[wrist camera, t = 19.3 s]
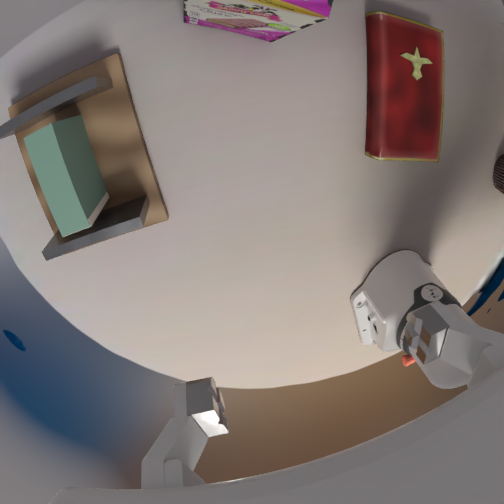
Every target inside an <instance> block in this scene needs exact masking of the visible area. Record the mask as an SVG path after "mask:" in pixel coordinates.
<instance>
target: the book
mask: <svg viewBox="0 0 504 504" xmlns="http://www.w3.org/2000/svg"><path fill="white" fill-rule="evenodd" d="M23 139H24V142H25V145H26V148H27V151H28V154H29V157H30V160H31V162H32V165H33V168H34V171H35V173H36V176H37V179H38V181H39V184H40V186H41V189H42V191H43V194H44V196H45V199H46V201H47V204H48V206H49V208H50V211H51V213H52V215H53V217H54V220H55V222H56V224H57V226H58V228H59V231H60V233H61V235H62V237H65V236H67V235H70V234H72V233H75V232H78V231H80V230H83V229H86V228H89V227H91V226H92V225H93V223H94V221H95V220H96V218H97V216H98V215H99V213H100V212H101V210H102V208H103V207H104V205H105V204H106V202H107V201H108V199H109V195H108V192H107V189H106V187H105V184H104V181H103V179H102V176H101V173H100V170H99V167H98V165H97V162H96V159H95V156H94V153H93V150H92V147H91V144H90V141H89V138H88V135H87V131H86V128H85V125H84V122H83V118H82V115H78V116H74V117H71V118H67V119H64V120H60V121H57V122H54V123H51V124H49V125H47V126H45V127H43V128H41V129H39V130H37V131H36V132H34V133H32V134H30V135H28V136H27V137H25V138H23Z"/></svg>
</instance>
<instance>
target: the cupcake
mask: <svg viewBox="0 0 504 504" xmlns="http://www.w3.org/2000/svg"><path fill="white" fill-rule="evenodd" d="M493 182H494V186H495V187H496V188H497V189H498V190H499V191H500V192H502V193H503V194H504V155H502V156H501V157H500V158H499V159H498V160H497V162H496V164H495V167H494V171H493Z"/></svg>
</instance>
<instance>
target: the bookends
mask: <svg viewBox="0 0 504 504" xmlns="http://www.w3.org/2000/svg"><path fill="white" fill-rule="evenodd" d="M112 88H113V84H112V81H111V79H110V78H103V77H96V76H93V77H91V78H89V79H86V80H84V81H82V82H80V83H78V84H75V85H73V86H71V87H69V88H67V89H65V90H63V91H61V92H59V93H57V94H55V95H53V96H51V97H49V98H47V99H45V100H43V101H42V102H40V103H38V104H36V105H34V106H33V107H31V108H29V109H27V110H26V111H24V112H22V113H21V114H19V115H17V116H16V117H14V118H12V119H11V120H9V121H8V122H6V123H4V124H3V125H1V126H0V139H2V138H5V137H7V136H10V135H13V134H15V133H18V132H21V131H24V130H26V129H27V128H29V127H31V126H33V125H35V124H36V123H38V122H40V121H42V120H44V119H46V118H48V117H50V116H52V115H53V114H55V113H57V112H59V111H62V110H64V109H66V108H68V107H70V106H72V105H74V104H76V103H78V102H81V101H83V100H85V99H87V98H90V97H92V96H94V95H97V94H99V93H102V92H104V91H106V90H109V89H112ZM149 206H150V202H149V199H148V196H147V195H145V196H142V197H139V198H136V199H133V200H131V201H128V202H125V203H122V204H119V205H116V206H113V207H111V208H108V209H105V210H102V211H101V212H100V213H99V215H98V216H97V218H96V220H95V221H94V223H93V225H92V226H91V227H89V228H86V229H83V230H80V231H78V232H75V233H72V234H70V235H67V236H65V237H62V235H61V233H60V231H59V229H58V231H57V232H56V233H55V235H54V236H53V237H52V239H51V240H50V241H49V243H48V244H47V246H46V247H45V248H44V250H43V251H42V253H43V255H44V257H45V259H46V261H47V260H50V259H52V258H55V257H58V256H61V255H63V254H66V253H69V252H72V251H74V250H77V249H80V248H83V247H86V246H89V245H91V244H94V243H97V242H100V241H103V240H106V239H109V238H112V237H115V236H118V235H121V234H124V233H127V232H130V231H133V230H136V229H139V228H142V227H144V223H145V220H146V216H147V213H148V209H149Z"/></svg>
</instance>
